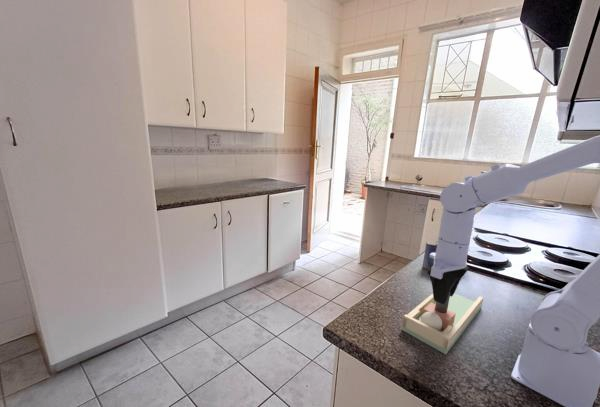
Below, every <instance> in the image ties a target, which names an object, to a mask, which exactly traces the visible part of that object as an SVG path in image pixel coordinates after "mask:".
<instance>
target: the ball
mask: <svg viewBox="0 0 600 407" xmlns="http://www.w3.org/2000/svg"><path fill="white" fill-rule="evenodd" d="M421 322H422V323H424V324H426V325H428V326H430V327H432V328H434V329H436V330H438V331H439V330H440V329H441V327H442V320H441V318H440V317H439V315H437V314H436V313H434V312H426V313H424V314H423V315H422V317H421Z"/></svg>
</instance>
